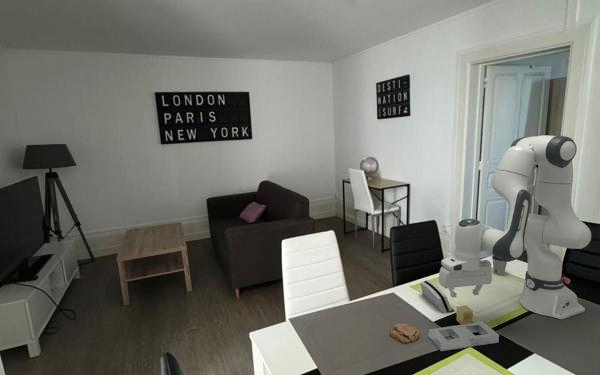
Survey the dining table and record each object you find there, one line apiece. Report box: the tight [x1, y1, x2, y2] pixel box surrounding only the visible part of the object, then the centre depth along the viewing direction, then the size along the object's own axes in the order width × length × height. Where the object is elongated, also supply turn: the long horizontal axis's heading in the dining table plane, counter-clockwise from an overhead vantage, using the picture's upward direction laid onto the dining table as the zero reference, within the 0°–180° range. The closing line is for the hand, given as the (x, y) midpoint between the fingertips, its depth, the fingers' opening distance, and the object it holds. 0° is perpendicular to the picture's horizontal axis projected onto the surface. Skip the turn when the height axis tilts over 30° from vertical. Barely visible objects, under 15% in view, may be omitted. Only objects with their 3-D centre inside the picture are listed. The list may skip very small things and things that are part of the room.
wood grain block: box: [456, 305, 474, 325], centre depth 124 cm, size 4×4×6 cm
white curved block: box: [419, 279, 456, 314], centre depth 138 cm, size 17×5×10 cm, turn 9°
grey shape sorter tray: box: [428, 321, 500, 352], centre depth 114 cm, size 22×8×3 cm, turn 98°
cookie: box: [389, 322, 420, 344], centre depth 118 cm, size 10×11×3 cm
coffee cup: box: [491, 255, 508, 277], centre depth 161 cm, size 7×7×10 cm
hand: (464, 295), depth 122 cm, fingers open, 8 cm apart
